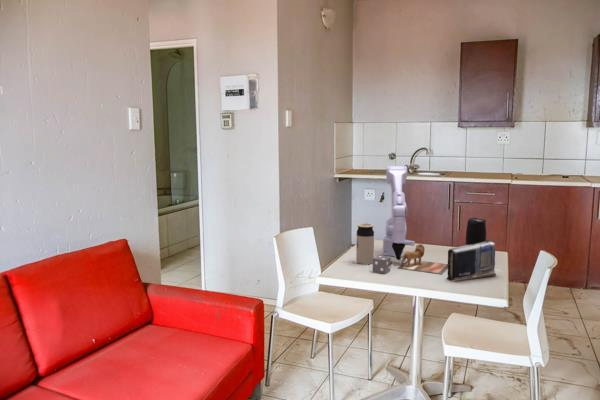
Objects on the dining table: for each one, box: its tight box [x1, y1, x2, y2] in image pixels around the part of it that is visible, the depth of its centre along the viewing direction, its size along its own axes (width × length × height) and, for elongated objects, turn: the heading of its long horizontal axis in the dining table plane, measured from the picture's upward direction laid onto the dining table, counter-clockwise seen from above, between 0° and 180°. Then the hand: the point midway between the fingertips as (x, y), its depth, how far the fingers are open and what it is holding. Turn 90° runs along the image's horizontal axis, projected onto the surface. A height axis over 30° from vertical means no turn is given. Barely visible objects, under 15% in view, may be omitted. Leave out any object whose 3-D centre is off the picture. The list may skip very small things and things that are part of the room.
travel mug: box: [356, 222, 375, 265], centre depth 234 cm, size 8×8×18 cm
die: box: [372, 255, 392, 275], centre depth 220 cm, size 6×6×6 cm
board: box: [397, 259, 448, 275], centre depth 227 cm, size 20×17×1 cm
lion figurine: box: [400, 243, 425, 267], centre depth 229 cm, size 15×5×9 cm, turn 129°
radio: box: [446, 239, 497, 283], centre depth 211 cm, size 23×9×15 cm, turn 104°
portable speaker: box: [465, 217, 487, 245], centre depth 238 cm, size 9×9×20 cm
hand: (398, 259), depth 233 cm, fingers closed
